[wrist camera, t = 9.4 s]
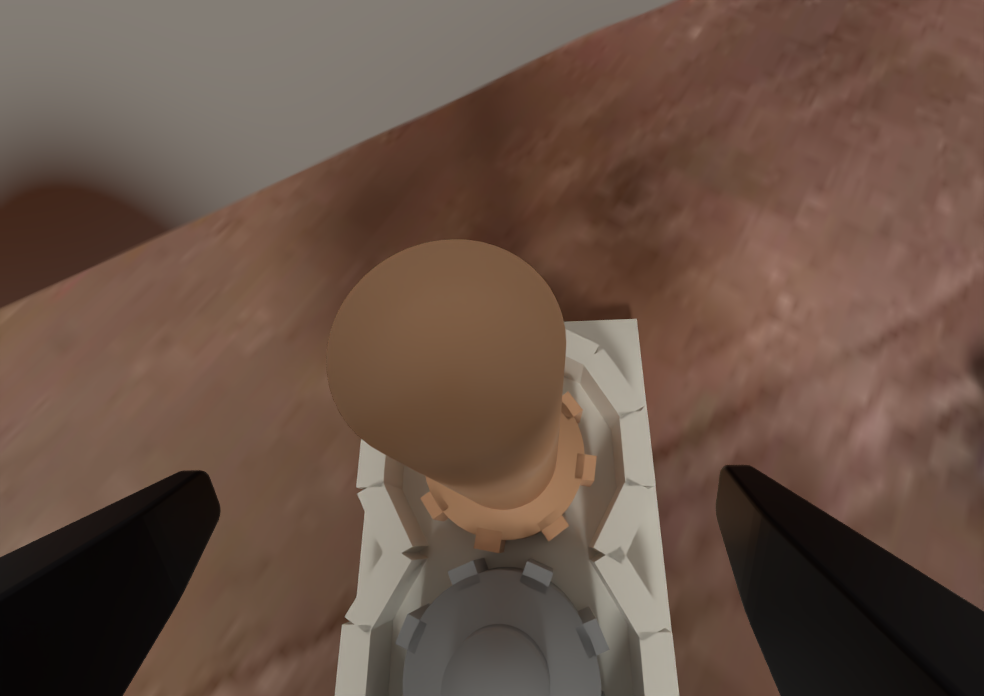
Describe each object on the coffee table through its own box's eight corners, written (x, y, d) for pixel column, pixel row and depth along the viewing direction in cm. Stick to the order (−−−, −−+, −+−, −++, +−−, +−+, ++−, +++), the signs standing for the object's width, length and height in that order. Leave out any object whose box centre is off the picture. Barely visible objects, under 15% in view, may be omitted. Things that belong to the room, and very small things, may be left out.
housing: (692, 879, 16) (761, 1042, 11) (342, 853, 17) (253, 987, 12) (633, 327, 23) (657, 266, 18) (388, 337, 24) (345, 281, 19)
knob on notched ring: (627, 481, 19) (754, 383, 7) (485, 589, 18) (366, 678, 6) (525, 352, 22) (494, 119, 10) (395, 443, 21) (187, 309, 9)
